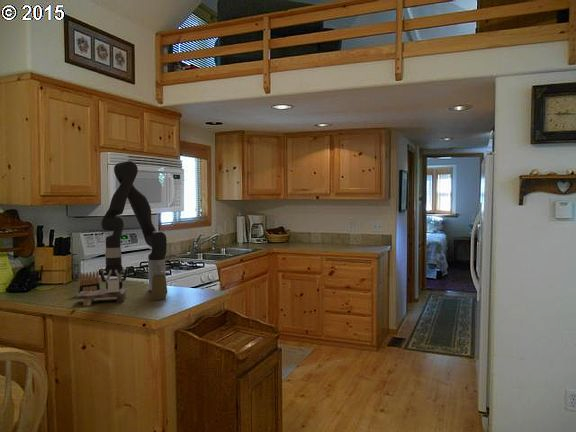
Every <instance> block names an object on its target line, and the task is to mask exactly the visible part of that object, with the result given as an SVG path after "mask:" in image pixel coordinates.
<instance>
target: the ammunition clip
mask: <svg viewBox="0 0 576 432" xmlns="http://www.w3.org/2000/svg"><path fill="white" fill-rule="evenodd" d="M99 275H100V274H99V270H97V271H96V272H95V271H93V272H92V271H90V272H86V274H85V272H82V273H81V272H80V273H79V275H78V294H79V293H80V292H81V291H97V290H101V288H100V276H99Z"/></svg>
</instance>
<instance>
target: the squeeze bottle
mask: <svg viewBox="0 0 576 432" xmlns="http://www.w3.org/2000/svg"><path fill="white" fill-rule="evenodd" d="M163 274H164V271H161V267H160V264H158V265H157V270H156V271H155V272H154V275H155V276H153V279H152V290H150V291H151V296H152V299H153V300H154V301H163V300H166V297H167V294H168V286H167V278H166V276H167V275H166V276H165V275H163Z"/></svg>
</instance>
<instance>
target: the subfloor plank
mask: <svg viewBox="0 0 576 432" xmlns="http://www.w3.org/2000/svg"><path fill="white" fill-rule="evenodd" d="M126 294H127V288H121V289H120V291H119V292H112V293H108V289H100V290H97V291H83V290H82V291H81V292H80V293H79V292H78V294H77V295H76V297H75V300H76V301H77V300H82V303H83V304H82V306H83V307H88V306H91V305H92V304H93V302H95V300H96V299H107V298H116V303H124V301H125V299H126V296H127V295H126Z"/></svg>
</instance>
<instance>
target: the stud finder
mask: <svg viewBox="0 0 576 432" xmlns="http://www.w3.org/2000/svg"><path fill="white" fill-rule="evenodd" d="M119 282H120V281H119V279H118V277H117V276H113V277H110V279H109V280H108V289H107V290H108V293H112V292H119V291H120V289H119Z"/></svg>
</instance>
